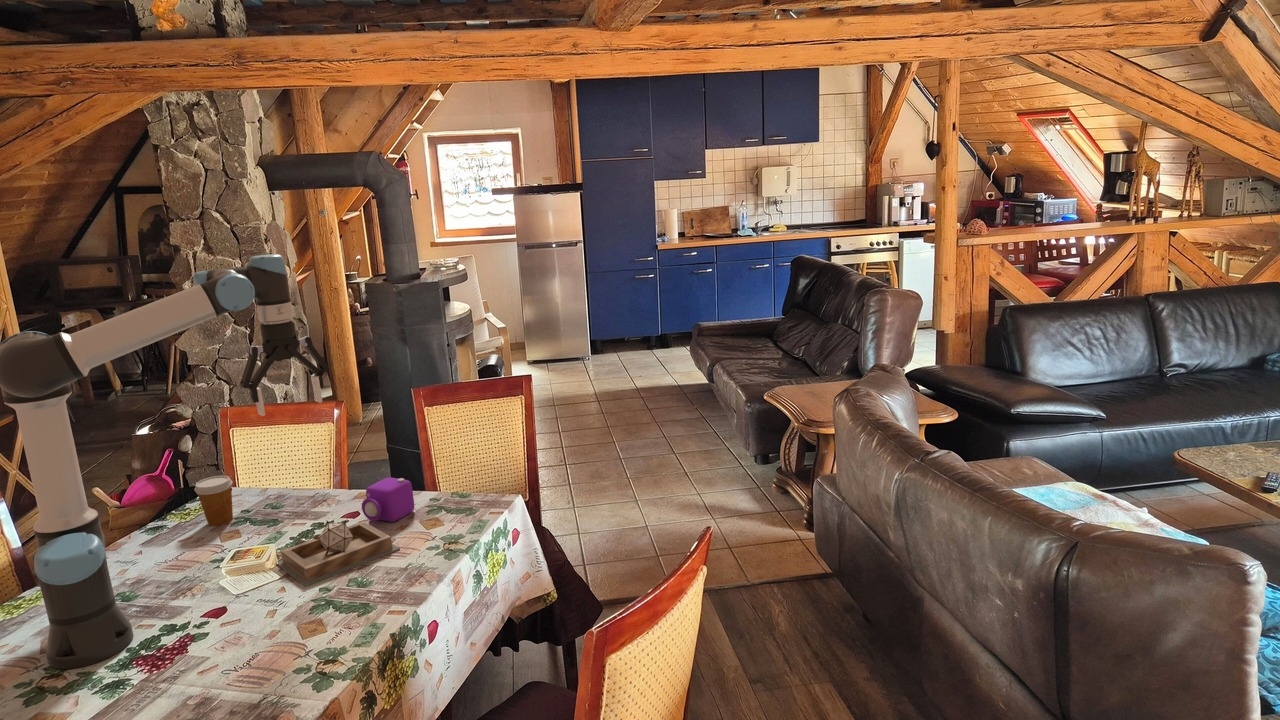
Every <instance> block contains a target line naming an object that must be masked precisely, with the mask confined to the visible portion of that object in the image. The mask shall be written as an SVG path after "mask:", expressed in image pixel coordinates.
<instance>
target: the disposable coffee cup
mask: <svg viewBox="0 0 1280 720" xmlns="http://www.w3.org/2000/svg"><path fill="white" fill-rule="evenodd" d="M232 484H233V480H232V479H231V478H230V477H229V476H228V475H215V476H210V477H207V478H203V479H201V480H199V481H198V482H196V483H195V488H194V492H195V493H196V494H197V496H198V500H199V502H200V504H201V505H200V506H201V508H202V511H203V513H204V516H205V518H206V523H207V525H208V526H211V527H218V526H219V527H220V526H223V525H226V524H227V525H228V524H229V523H230V522H232V521H233V520H234V515H233V512H234V511H233V496H232V495H233V494H232V493H233V491H232V487H233V485H232Z"/></svg>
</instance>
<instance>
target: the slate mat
mask: <svg viewBox="0 0 1280 720" xmlns="http://www.w3.org/2000/svg"><path fill="white" fill-rule="evenodd" d="M392 547H393V548H392V549H389V550H387V551H384V552H382V553H379V554H377V555H374V556H371V557H369V558H366V559H364V560H361V561H359V562H356V563H354V564H351V565H348V566H346V567H343V568H341V569H338V570H336V571H333V572H331V573H328V574H325V575H323V576H320V577H318V578H315V579H313V580H310V581H307V580H306V579H304V578H303V577H302V576H300V575H299V574H298V573H296V572H295V571H294V570H292V569H291V568H290V567H288V566H287V565H286V564H284V563H283V560H282V559H280V560H278V561H277V562H278V565H279V566H278V565H277V566H278V567H279V568H280V569H282V570H283V571H284V572H286V573H287V575H288V574H289V575H290V576H291V577H292V578H294V579H295V580H296V581H298V583H300V584H302V586H303V587H309V586H312V585H314V584H317V583H320V582H322V581H324V580H325V581H326V580H327V579H329V578H332V577H335V576H337V575H340V574H342V573H345V572H347V571H349V570H352V569H354V568H357V567H360V566H363V565H365V564H368V563H370V562H372V561H375V560H377V559H380V558H382V557H385V556H388V555H390V554H392V553H395V552H397V551H400V550H401V548H400V547H398V546H397V545H395V544H393V543H392Z"/></svg>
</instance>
